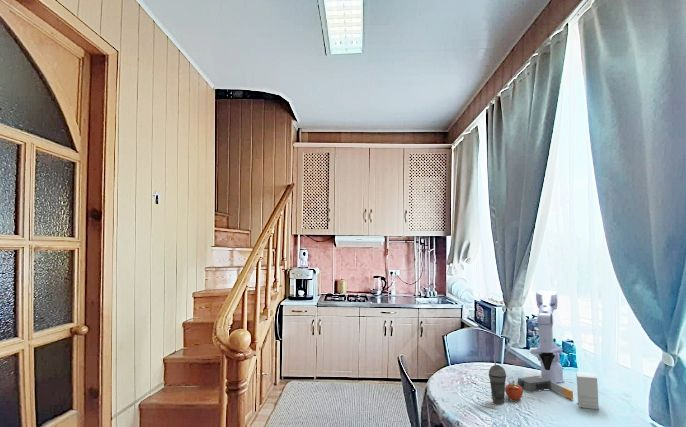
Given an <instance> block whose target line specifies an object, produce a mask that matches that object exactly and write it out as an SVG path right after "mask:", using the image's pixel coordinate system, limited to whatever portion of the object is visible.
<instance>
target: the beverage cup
mask: <svg viewBox="0 0 686 427" xmlns="http://www.w3.org/2000/svg"><path fill="white" fill-rule="evenodd" d="M495 355H496V354H493V356H492V357H493V362H494V363H493V364H494V365H492V366H490V368H489V370H488V378H489V382H490V390H491V391H490V392H491V399H492V403H493V404H496V405H504V404H505V396H506V395H505V394H506V392H505V387H506V380H507V371H506V370H505V368H504V367H503V366H501V364H500V365H499V364H497V362H496V356H495Z"/></svg>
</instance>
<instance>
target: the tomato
mask: <svg viewBox="0 0 686 427" xmlns="http://www.w3.org/2000/svg"><path fill="white" fill-rule="evenodd" d="M505 394H506V395H505V396H506V397H507V398H508V399H509V400H510V401H513V402H516V401H517V402H518V401H519V400H521V398H523V394H524V389H522V387H521V386H520V385H519V384H518V383H517V382H515V380H512V382H509V383H507V384H505Z"/></svg>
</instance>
